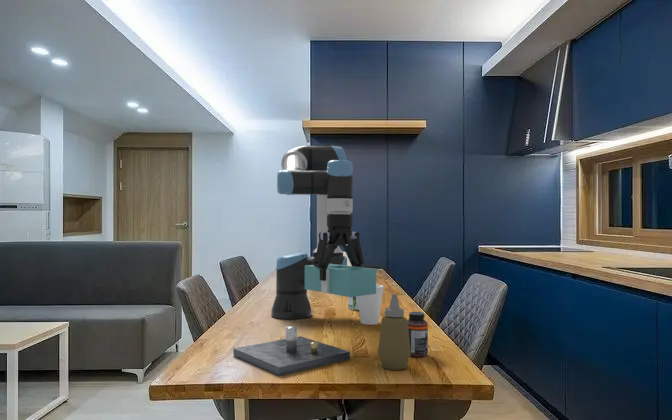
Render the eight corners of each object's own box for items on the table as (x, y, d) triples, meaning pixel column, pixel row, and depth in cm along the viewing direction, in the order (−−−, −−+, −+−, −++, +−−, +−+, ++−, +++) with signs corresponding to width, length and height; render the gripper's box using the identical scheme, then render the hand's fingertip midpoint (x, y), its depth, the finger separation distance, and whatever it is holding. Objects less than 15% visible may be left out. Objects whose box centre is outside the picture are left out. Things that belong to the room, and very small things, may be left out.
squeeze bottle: (388, 373, 119) (388, 297, 119) (372, 364, 126) (372, 292, 127) (417, 369, 122) (417, 295, 122) (399, 361, 129) (400, 291, 130)
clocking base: (233, 355, 133) (233, 325, 134) (300, 343, 148) (300, 315, 148) (279, 376, 117) (279, 341, 117) (350, 359, 131) (350, 328, 131)
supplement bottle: (404, 351, 139) (404, 310, 139) (426, 351, 138) (426, 310, 139) (406, 357, 133) (406, 314, 133) (429, 357, 132) (429, 315, 133)
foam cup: (381, 326, 171) (381, 288, 172) (354, 324, 173) (354, 287, 173) (384, 320, 181) (384, 284, 181) (358, 319, 182) (359, 283, 183)
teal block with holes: (304, 288, 150) (304, 265, 150) (330, 286, 156) (330, 263, 156) (349, 297, 134) (350, 271, 135) (376, 293, 141) (376, 268, 141)
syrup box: (347, 308, 205) (347, 272, 206) (360, 307, 208) (360, 272, 208) (353, 310, 200) (353, 274, 201) (366, 309, 203) (366, 273, 203)
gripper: (317, 213, 135) (317, 295, 135) (376, 214, 150) (376, 288, 150) (300, 213, 141) (300, 292, 141) (359, 214, 156) (358, 285, 155)
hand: (339, 290), depth 145 cm, fingers closed on teal block with holes, 10 cm apart
